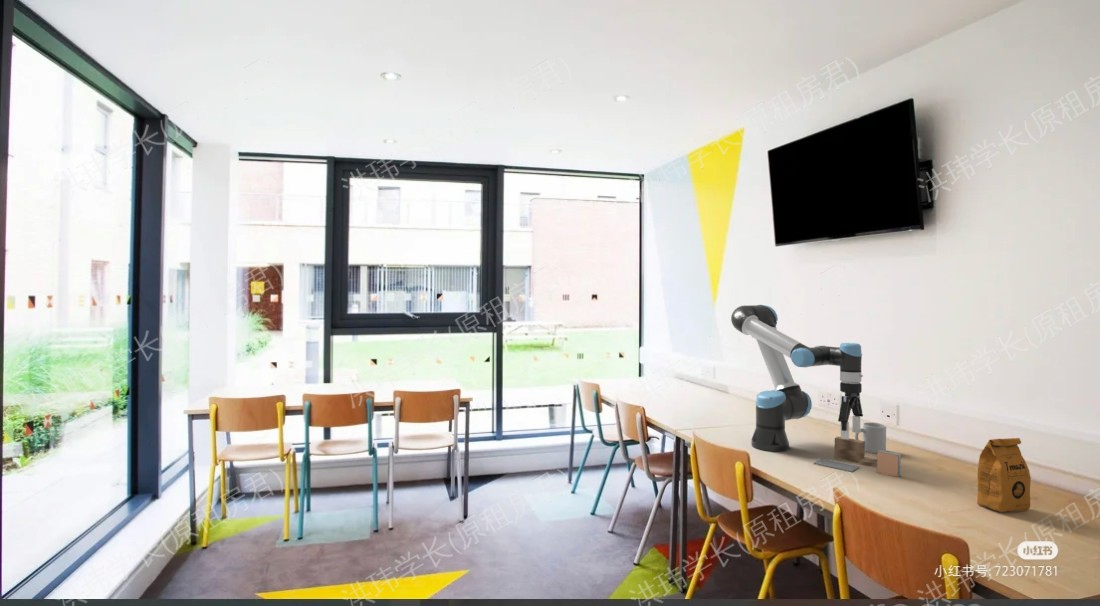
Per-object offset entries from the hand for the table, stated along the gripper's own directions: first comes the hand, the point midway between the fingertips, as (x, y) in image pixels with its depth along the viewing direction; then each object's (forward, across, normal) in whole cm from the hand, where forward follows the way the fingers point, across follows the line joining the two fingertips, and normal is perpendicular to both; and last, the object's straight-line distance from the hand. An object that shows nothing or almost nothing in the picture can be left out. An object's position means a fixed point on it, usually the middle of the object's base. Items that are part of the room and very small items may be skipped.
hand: (850, 435), depth 224 cm
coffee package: (+11, -19, -50) cm, 54 cm away
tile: (+10, -8, -15) cm, 20 cm away
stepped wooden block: (+10, 0, -3) cm, 10 cm away
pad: (+10, -12, +2) cm, 15 cm away
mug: (+10, +19, -1) cm, 22 cm away
